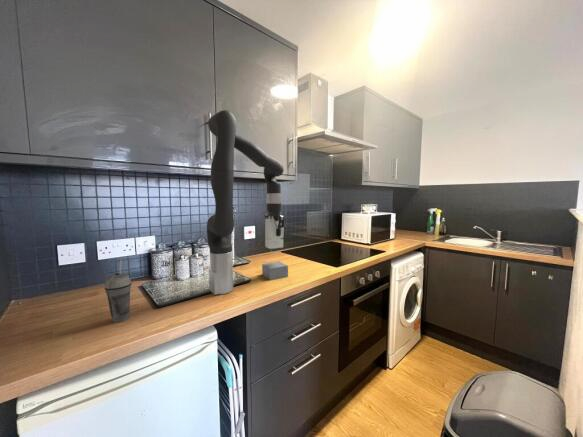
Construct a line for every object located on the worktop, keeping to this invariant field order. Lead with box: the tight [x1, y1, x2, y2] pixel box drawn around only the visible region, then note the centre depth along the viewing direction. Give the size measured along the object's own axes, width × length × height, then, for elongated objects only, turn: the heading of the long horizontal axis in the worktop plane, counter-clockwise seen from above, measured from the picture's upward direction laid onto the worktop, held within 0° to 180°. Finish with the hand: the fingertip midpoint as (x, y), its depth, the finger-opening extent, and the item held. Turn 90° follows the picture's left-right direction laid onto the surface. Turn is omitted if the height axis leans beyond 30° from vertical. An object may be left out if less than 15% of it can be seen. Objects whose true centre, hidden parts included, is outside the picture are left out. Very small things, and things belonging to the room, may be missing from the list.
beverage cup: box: [104, 259, 132, 323], centre depth 77 cm, size 7×7×20 cm
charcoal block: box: [261, 260, 289, 281], centre depth 121 cm, size 10×10×6 cm
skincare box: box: [264, 218, 285, 250], centre depth 119 cm, size 8×6×15 cm
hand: (274, 235), depth 119 cm, fingers closed on skincare box, 6 cm apart
